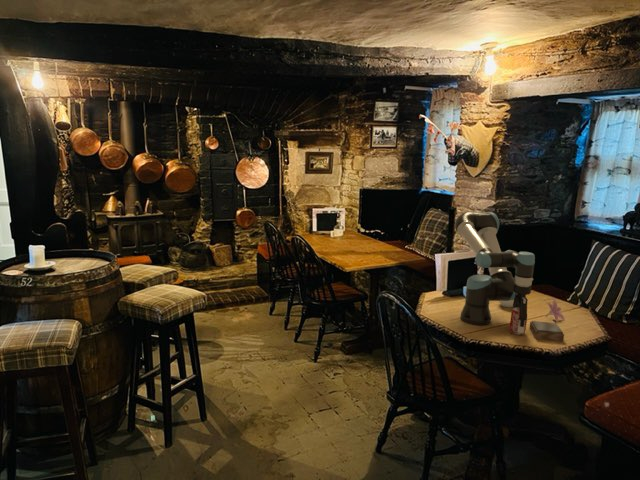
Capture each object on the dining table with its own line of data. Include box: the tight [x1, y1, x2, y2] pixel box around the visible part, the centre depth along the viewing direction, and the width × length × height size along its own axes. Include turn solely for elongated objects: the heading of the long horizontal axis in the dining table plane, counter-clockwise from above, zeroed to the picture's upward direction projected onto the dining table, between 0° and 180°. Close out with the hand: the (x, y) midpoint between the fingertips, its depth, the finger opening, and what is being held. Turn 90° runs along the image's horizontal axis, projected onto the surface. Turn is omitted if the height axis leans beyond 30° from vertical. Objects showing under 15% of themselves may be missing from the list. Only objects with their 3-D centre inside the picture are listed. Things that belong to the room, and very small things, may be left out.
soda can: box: [509, 307, 528, 336], centre depth 210 cm, size 7×7×12 cm
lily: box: [545, 298, 565, 323], centre depth 229 cm, size 12×12×10 cm
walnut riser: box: [528, 320, 565, 342], centre depth 209 cm, size 12×12×4 cm
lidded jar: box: [498, 300, 514, 308], centre depth 247 cm, size 11×11×9 cm
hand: (517, 327), depth 211 cm, fingers open, 12 cm apart
